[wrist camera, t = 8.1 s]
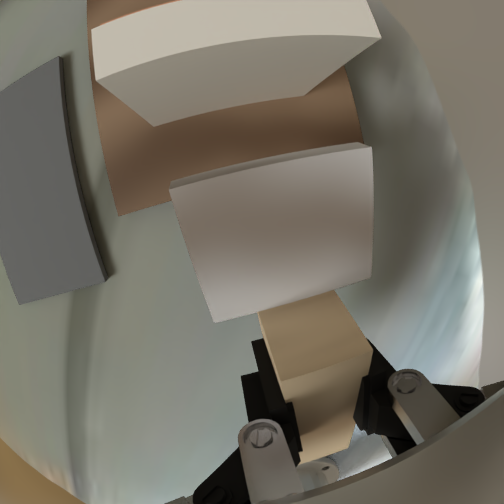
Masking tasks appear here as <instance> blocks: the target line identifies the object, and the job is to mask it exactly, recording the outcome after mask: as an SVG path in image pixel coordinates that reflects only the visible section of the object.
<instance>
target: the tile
mask: <svg viewBox="0 0 504 504" xmlns="http://www.w3.org/2000/svg"><path fill="white" fill-rule="evenodd" d="M91 33H92V48H93V60H94V70H95V79H96V81H97V82H98V83H99V84H101V85H102V86H103V87H104V88H106V89H107V90H108V91H110V92H111V93H112V94H113V95H115V96H116V97H117V98H119V99H120V100H121V101H122V102H124V103H125V104H126V105H127V106H129V107H130V108H131V109H132V110H134V111H135V112H136V113H137V114H139V115H140V116H141V117H142V118H144V119H145V120H146V121H147V122H148V123H150V124H151V125H152V126H153V127H155V126H158V125H162V124H165V123H169V122H172V121H176V120H179V119H183V118H187V117H191V116H195V115H199V114H203V113H207V112H211V111H216V110H220V109H225V108H230V107H235V106H240V105H245V104H251V103H256V102H262V101H269V100H275V99H282V98H290V97H298V96H304V95H305V94H307V93H308V92H309V91H310V90H312V89H313V88H314V87H315V86H317V85H318V84H319V83H320V82H322V81H323V80H324V79H326V78H327V77H328V76H330V75H331V74H332V73H333V72H335V71H336V70H337V69H339V68H340V67H341V66H343V65H344V64H345V63H347V62H348V61H350V60H351V59H352V58H354V57H355V56H356V55H358V54H359V53H361V52H362V51H364V50H365V49H366V48H368V47H369V46H371V45H372V44H374V43H375V42H377V41H378V40H379V39H381V35H380V33H379V30H378V27H377V25H376V22H375V20H374V18H373V15H372V13H371V11H370V8H369V6H368V4H367V2H366V0H175V1H171V2H166V3H163V4H159V5H155V6H152V7H148V8H145V9H142V10H138V11H135V12H132V13H129V14H126V15H124V16H121V17H118V18H115V19H113V20H110V21H107V22H105V23H102V24H100V26H98V27H96V28H93V29H91Z"/></svg>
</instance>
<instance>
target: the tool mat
mask: <svg viewBox="0 0 504 504" xmlns="http://www.w3.org/2000/svg"><path fill="white" fill-rule="evenodd" d="M0 254H1V257H2V260H3V263H4V266H5V269H6V272H7V275H8V278H9V280H10V283H11V286H12V288H13V291H14V293H15V296H16V298H17V301H18V303H19V305H21V304H25V303H28V302H32V301H36V300H39V299H43V298H47V297H50V296H54V295H58V294H62V293H65V292H69V291H73V290H77V289H80V288H84V287H88V286H92V285H95V284H99V283H103V282H106V281H107V279H108V276H107V273H106V271H105V268H104V265H103V262H102V259H101V256H100V253H99V250H98V247H97V244H96V241H95V238H94V234H93V231H92V228H91V224H90V221H89V217H88V213H87V210H86V206H85V202H84V198H83V194H82V190H81V186H80V182H79V177H78V173H77V168H76V163H75V158H74V153H73V147H72V142H71V136H70V129H69V122H68V115H67V107H66V98H65V88H64V75H63V59H62V58H61V57H60V56H58V57H56V58H54V59H52V60H50V61H48V62H47V63H45V64H43V65H41V66H40V67H38V68H36V69H34V70H33V71H31V72H30V73H28V74H26V75H25V76H23V77H22V78H20V79H19V80H17V81H16V82H14V83H13V84H11V85H10V86H8V87H7V88H5V89H4V90H2V91H1V92H0Z"/></svg>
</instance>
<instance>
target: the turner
mask: <svg viewBox="0 0 504 504" xmlns="http://www.w3.org/2000/svg"><path fill="white" fill-rule="evenodd" d="M169 192H170V196H171V199H172V202H173V205H174V209H175V212H176V215H177V218H178V221H179V224H180V228H181V231H182V234H183V237H184V240H185V243H186V246H187V249H188V252H189V255H190V258H191V260H192V263H193V266H194V269H195V272H196V275H197V278H198V280H199V283H200V286H201V289H202V292H203V294H204V297H205V300H206V302H207V305H208V308H209V311H210V313H211V316H212V318H213V321H214V323H217V322H221V321H225V320H229V319H233V318H237V317H240V316H244V315H248V314H252V313H256V312H257V314H258V318H259V322H260V326H261V330H262V334H263V338H264V341H265V344H266V347H267V350H268V353H269V356H270V359H271V362H272V365H273V368H274V371H275V373H276V376H277V379H278V382H279V385H280V388H281V391H282V394H283V397H284V400H285V403H288V402H292V403H293V406H294V410H295V415H296V420H297V424H298V429H299V434H300V439H301V444H302V448H303V451H302V452H299V455H300V460H301V462H300V463H299V464H303V463H306V462H309V461H313V460H316V459H319V458H322V457H325V456H328V455H331V454H333V453H336V452H339V451H342V450H344V449H347V448H348V447H349V444H350V441H351V437H352V434H353V431H354V427H355V424H356V422H355V421H354V419H353V414H354V410H355V406H356V402H357V398H358V394H359V389H360V384H361V380H362V377H363V376H366V375H368V372H369V368H370V364H371V359H372V354H373V349H372V347H371V345H370V344H369V342H368V341H367V339H366V338H365V336H364V335H363V333H362V331H361V330H360V328H359V327H358V325H357V324H356V322H355V321H354V319H353V318H352V316H351V315H350V313H349V312H348V310H347V309H346V307H345V306H344V304H343V303H342V301H341V300H340V298H339V297H338V295H337V294H336V292H335V291H334V290H335V289H338V288H341V287H344V286H347V285H350V284H353V283H356V282H360V281H363V280H366V279H369V278H371V271H372V254H373V225H374V187H373V159H372V147H370V146H368V145H365V144H362V143H359V142H355V143H347V144H340V145H334V146H327V147H321V148H315V149H309V150H303V151H298V152H292V153H287V154H282V155H277V156H272V157H267V158H262V159H257V160H253V161H248V162H244V163H239V164H235V165H231V166H227V167H223V168H219V169H215V170H211V171H207V172H203V173H199V174H195V175H191V176H188V177H184V178H181V179H177V180H174V181H171V183H170V187H169ZM299 464H298V465H299Z"/></svg>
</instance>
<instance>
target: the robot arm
mask: <svg viewBox="0 0 504 504" xmlns="http://www.w3.org/2000/svg"><path fill="white" fill-rule="evenodd" d="M366 339H367V338H366ZM367 341H368V342H369V344H370V345H371V347H372V349H373V354H372V359H371V364H370V368H369V372H368V375H366V376H363V377H362V380H361V384H360V389H359V394H358V398H357V402H356V406H355V410H354V414H353V419H354V421H355V422H356V424H357V426H358V428H359V429H360V430H361V431H362V430H365V431H366V433H367V435H370V434H373V433H375V434H378V435H381V437H382V440H383V441H384V443H385V445H386V447H387V449H388V450H389V452H390V454H391V456H392V459H390V460H387V461H385V462H383V463H381V464H379V465H377V466H374V467H372V468H370V469H367V470H365V471H363V472H360V473H358V474H355V475H353V476H350V477H347V478H345V479H342V480H339V481H337V479H338V478H339V469H338V467H337V465H336V463H335V462H334V461H333V460H331V459H329V458H326V457H322V458H319V459H316V460H313V461H309V462H306V463H303V464H299V463H300V462H301V460H300V455H299V452H302V451H303V448H302V444H301V439H300V434H299V429H298V424H297V420H296V415H295V410H294V406H293V403H292V402H288V403H285V400H284V397H283V394H282V391H281V388H280V385H279V382H278V379H277V376H276V373H275V371H274V368H273V365H272V362H271V359H270V356H269V353H268V350H267V347H266V344H265V341H264V338H262V339H259V340H255V341H251V343H252V347H253V351H254V355H255V359H256V363H257V367H258V370H259V372H255V373H251V374H247V375H243V376H241V381H242V387H243V393H244V399H245V404H246V410H247V416H248V421H249V423H248V424H246V425H245V426H244V427H243V428H242V429H241V430H240V432H239V435H238V443H239V447H238V448H237V449H236V450H235V451H234V452H233V453H232V454H231V455H230V456H229V457H228V458H227V459H226V460H225V461H224V462H223V463H222V464H221V465H220V466H219V467H218V468H217V469H216V470H215V471H214V472H213V473H212V474H211V475H210V476H209V477H208V478H207V479H206V480H205V481H204V482H203V483H202V484H200V485H199V486H198V488H197V489H196V490H195V491H194V494H193V495H191V496H189V497H187V498H185V497H184V496H182V497H180V498H178V499H175V500H173V501H170V502H168V503H165V504H504V381H501V382H497V383H494V384H490V385H487V386H483V387H482V388H481V390H479V389H477V388H474V387H467V386H452V385H440V384H431V383H430V382H429V380H428V379H427V378H426V377H425V376H424V375H423V374H422V373H421V372H419V371H417V370H414V369H402V370H399V371H396V370H395V369H394V368H393V367H392V366H391V365H390V363H389V362H388V361H387V360H386V359H385V358H384V357H383V355H382V354H381V353H380V352H379V351H378V350H377V349H376V347H375V346H374V345H373V344H372V343H371V342H370V341H369V340H368V339H367ZM298 464H299V465H298ZM336 481H337V482H336Z"/></svg>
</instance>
